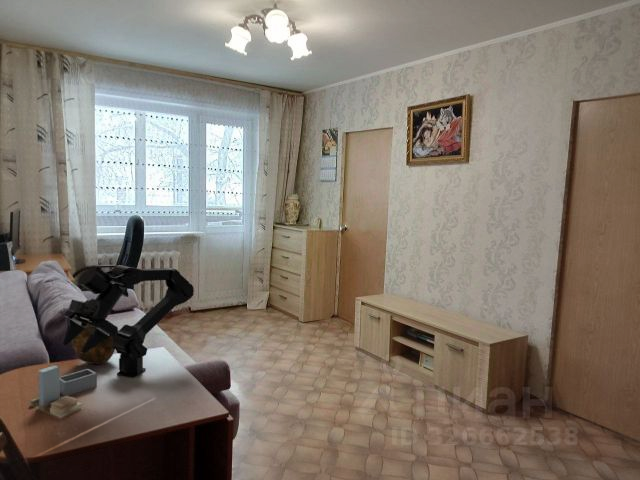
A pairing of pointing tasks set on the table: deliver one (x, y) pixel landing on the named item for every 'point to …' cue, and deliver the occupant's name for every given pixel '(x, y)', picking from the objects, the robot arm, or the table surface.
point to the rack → (58, 406)
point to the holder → (77, 382)
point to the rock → (97, 353)
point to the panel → (49, 384)
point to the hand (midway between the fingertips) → (73, 348)
